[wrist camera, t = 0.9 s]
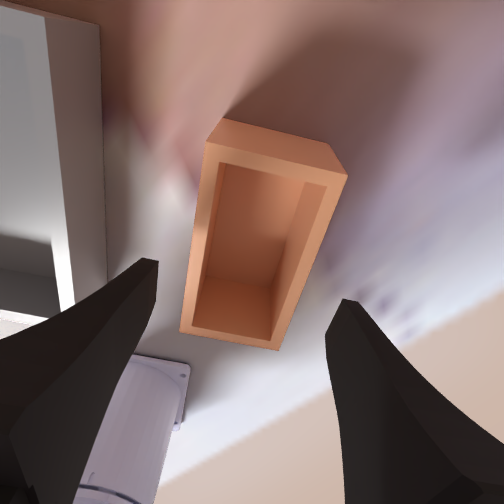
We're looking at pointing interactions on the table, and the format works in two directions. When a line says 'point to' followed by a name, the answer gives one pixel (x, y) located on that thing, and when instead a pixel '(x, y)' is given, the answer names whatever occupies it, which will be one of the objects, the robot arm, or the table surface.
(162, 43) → the table surface
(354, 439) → the robot arm
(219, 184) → the box
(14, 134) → the big crate
